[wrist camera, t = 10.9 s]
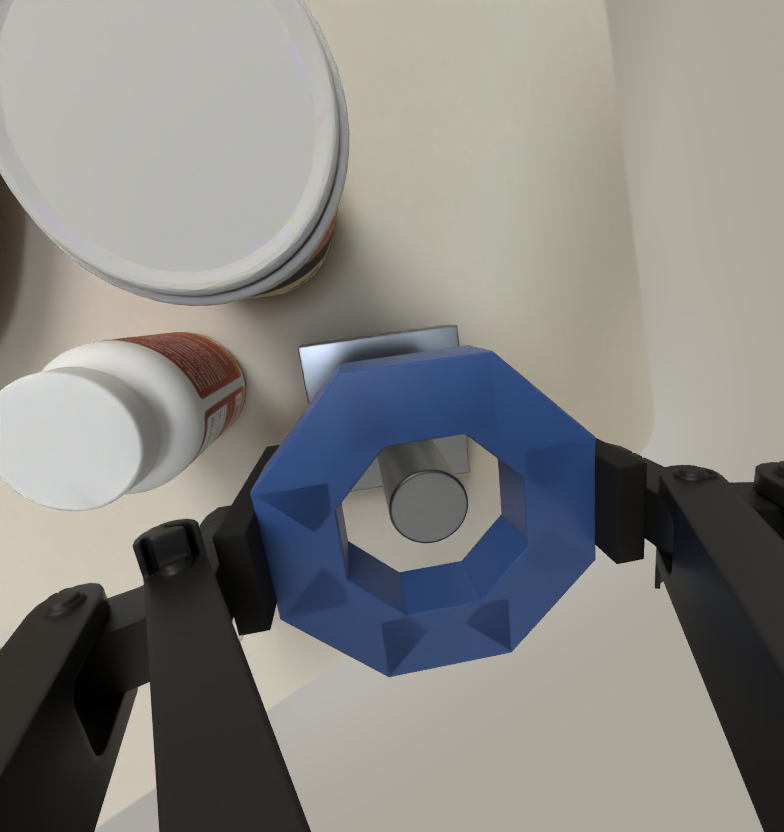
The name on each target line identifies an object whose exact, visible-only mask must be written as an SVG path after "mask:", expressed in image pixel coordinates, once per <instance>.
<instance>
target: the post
mask: <svg viewBox="0 0 784 832" xmlns="http://www.w3.org/2000/svg"><path fill="white" fill-rule="evenodd" d="M454 347H459V341H458V330H457V325H444V326H436V327H429V328H422V329H415V330H407V331H400V332H393V333H385V334H378V335H371V336H364V337H356V338H349V339H342V340H334V341H327V342H320V343H313V344H305V345H301V346H299V347H298V351H299V357H300V362H301V367H302V373H303V378H304V384H305V389H306V394H307V400H308V405H310V404H311V402H312V401H313V400H314V398H315V397H316V396H317V394H318V393H319V392H320V390H321V389H322V387H323V386H324V385H325V383H326V382H327V381H328V379H329V378H330V377H331V375H332V374H333V373H334V371H335V370H336V368H337V367H338V366H339V364H341V363H348V362H355V361H362V360H369V359H376V358H383V357H390V356H397V355H404V354H411V353H418V352H425V351H432V350H440V349H447V348H454ZM469 471H470V470H469V458H468V446H467V435H466V434H462V435H456V436H450V437H444V438H437V439H431V440H425V441H418V442H412V443H406V444H400V445H393V446H387V447H384V448H383V450H382V451H381V452H380V454H379V455H378V456H377V457H376V459H375V460H374V461H373V463H372V464H371V465H370V466H369V468H368V469H367V470H366V472H365V473H364V474H363V475H362V477H361V478H360V479H359V481H358V482H357V483H356V484H355V486H354V487H353V488H352V490H351V491H357V490H363V489H369V488H375V487H381V486H383V487H384V491H385V496H386V501H387V506H388V510H389V515H390V519H391V522H392V524H393V525H394V527H395V528H396V530H397V531H398V532H399V533H400V534H401V535H403V536H404V537H406V538H408V539H410V540H412V541H415V542H420V543H432V542H437V541H440V540H443V539H445V538H447V537H449V536H450V535H452V534H453V533H454V532H455V531H456V530H457V529H458V528H459V527H460V526H461V524H462V523H463V521H464V519H465V516H466V513H467V509H468V497H467V493H466V490H465V488H464V486H463V485H462V483H461V482H460V480H459V479H458V477H457V476H456V474H460V473H466V472H469ZM351 491H350V492H351Z"/></svg>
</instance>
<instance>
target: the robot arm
mask: <svg viewBox="0 0 784 832" xmlns="http://www.w3.org/2000/svg"><path fill="white" fill-rule="evenodd" d="M279 446H280V445H275V446H269V447H266V449H265V451H264V452H263V454H262V456H261V457H260V459H259V461H258V462H257V464H256V466H255V467H254V469H253V471H252V472H251V474H250V476H249V477H248V479H247V481H246V482H245V484H244V485H243V487H242V489H241V490H240V492H239V494H238V495H237V497H236V499H235V500H234V502H233V504H232V505H231V506H225V507H219V508H217V509H216V510H214V511H213V512H212V513H210V514H209V515H208V516H206V517H205V519H204V520H203V522H202V523H201V525H200V528H199V524H198V522H196V521H195V520H192V519H180V520H174V521H171V522H167V523H164V524H161V525H159V526H156V527H154V528H152V529H150V530H148V531H147V532H145V533H143V534H142V535H140V536H139V537H138V538H137V539H136V540H135V542H134V544H133V549H134V552H135V555H136V558H137V561H138V564H139V567H140V570H141V573H142V576H143V580H144V585H143V586H141V587H138V588H136V589H133V590H130V591H127V592H125V593H122V594H119V595H116V596H113V597H110V598H107V597H106V594H105V591H104V588H103V587H102V586H101V585H100V584H96V583H88V584H83V585H78V586H75V587H72V588H66V589H64V590H61V591H59V593H55V594H53V595H52V596H50V597H49V598H48V599H47V600H45V601H44V602H42V603H41V604H39V605H38V606H36V607H35V608H34V609H33V610H32V611H31V612H30V613H29V614H28V615H27V616H26V618H25V619H24V620H23V622H22V623H21V624H20V625H19V627H18V628H17V629H16V631H15V632H14V633H13V634H12V636H11V637H10V638H9V640H8V641H7V642H6V644H5V645H4V646H3V647H2V649H1V650H0V832H94V831H95V827H96V824H97V821H98V818H99V814H100V811H101V808H102V805H103V801H104V798H105V795H106V792H107V788H108V785H109V782H110V779H111V775H112V772H113V769H114V766H115V762H116V759H117V756H118V753H119V749H120V746H121V743H122V740H123V736H124V733H125V730H126V727H127V723H128V720H129V717H130V714H131V710H132V707H133V704H134V700H135V697H136V694H137V690H138V687H139V686H141V685H143V684H146V683H148V682H150V691H151V707H152V722H153V738H154V754H155V770H156V786H157V802H158V816H159V817H158V818H159V832H311V831H310V828H309V825H308V823H307V820H306V817H305V815H304V812H303V809H302V807H301V804H300V801H299V799H298V796H297V793H296V791H295V788H294V785H293V783H292V780H291V777H290V775H289V772H288V769H287V767H286V764H285V761H284V759H283V756H282V753H281V751H280V748H279V745H278V743H277V740H276V737H275V735H274V732H273V729H272V727H271V724H270V721H269V719H268V716H267V713H266V711H265V708H264V705H263V702H262V700H261V697H260V694H259V692H258V689H257V686H256V684H255V681H254V678H253V676H252V673H251V670H250V668H249V665H248V662H247V660H246V657H245V654H244V652H243V649H242V646H241V644H240V641H239V638H238V636H237V633H236V630H235V628H234V625H233V622H232V620H233V618H234V619H235V623H236V627H237V630H238V634H239V636H241V635H246V634H252V633H257V632H262V631H267V630H270V629H271V625H272V621H273V617H274V612H275V608H276V604H277V601H276V597H275V593H274V588H273V584H272V580H271V576H270V572H269V567H268V563H267V559H266V555H265V551H264V546H263V542H262V538H261V534H260V530H259V525H258V521H257V517H256V513H255V510H254V506H253V502H252V498H251V494H250V493H251V491H252V489H253V487H254V485H255V483H256V481H257V479H258V478H259V476H260V474H261V472H262V470H263V468H264V467H265V465H266V463H267V462H268V461H269V459H270V458H271V457H272V455H273V454H274V453H275V451H276V450H277V449H278V447H279ZM645 538H646V539H647V540H648V541H650V542H651V543H652V544H654V545H655V546H656V569H655V588H658V589H660V583H661V582H663V581H664V584H665V586H666V589H667V591H668V594H669V596H670V599H671V601H672V604H673V606H674V609H675V611H676V613H677V616H678V619H679V621H680V624H681V626H682V629H683V631H684V634H685V636H686V639H687V641H688V644H689V646H690V648H691V651H692V653H693V656H694V659H695V661H696V663H697V666H698V668H699V671H700V673H701V675H702V678H703V681H704V683H705V686H706V688H707V691H708V693H709V696H710V698H711V701H712V703H713V706H714V708H715V711H716V713H717V716H718V718H719V721H720V723H721V726H722V728H723V731H724V733H725V736H726V738H727V741H728V743H729V746H730V748H731V751H732V753H733V756H734V758H735V761H736V763H737V766H738V768H739V770H740V773H741V776H742V778H743V781H744V783H745V786H746V788H747V790H748V793H749V795H750V798H751V800H752V803H753V805H754V808H755V810H756V813H757V815H758V818H759V820H760V823H761V825H762V828H763V830H764V832H784V461H780V462H770V463H763V464H760V465H758V466H756V469H755V477H754V482H742V483H741V482H740V483H739V482H738V483H729V482H728V481H727V480H726V479H725V478H724V477H723V476H722V475H720V474H719V473H717V472H715V471H713V470H710V469H707V468H701V467H697V466H692V465H676V466H669V467H663V466H661V465H659V464H657V463H655V462H653V461H651V460H648V459H646V458H642V456H640V455H638V454H636V453H632V451H629V450H627V449H625V448H623V447H621V446H617V445H613V444H609V443H605V442H603V441H601V440H599V439H597V438H595V545H596V546H598V547H599V548H600V549H601V550H602V551H603V552H604V553H605V554H606V555H607V556H608V557H610V558H611V559H612V560H613V561H614V562H615V563H616V564H620V563H625V562H630V561H635V560H640V559H644V539H645Z"/></svg>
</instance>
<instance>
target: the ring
mask: <svg viewBox="0 0 784 832" xmlns="http://www.w3.org/2000/svg"><path fill="white" fill-rule="evenodd" d="M462 434H466V435H467V436H469V437H470V438H471V439H473V440H474V441H475V442H477V443H478V444H479V445H481V446H482V447H483V448H485V449H486V450H487V451H489V452H490V453H491V454H493V455H494V456H495V457H497V458H498V466H499V481H500V497H501V512H502V514H501V515H500V517H499V518H498V519H497V520H496V521H495V522H494V524H493V525H492V526H491V527H490V528H489V530H488V531H487V532H486V533H485V534H484V535H483V537H482V538H481V539H480V540H479V541H478V542H477V544H476V545H475V546H474V547H473V548H472V550H471V551H470V552H469V553H468V554H467V555H466V557H465V558H464V559H463V560H462V561H460V562H454V563H449V564H443V565H438V566H432V567H427V568H421V569H416V570H410V571H405V572H400V573H399V572H398V571H396V570H394V569H393V568H391V567H389V566H388V565H386V564H385V563H383V562H381V561H380V560H378V559H376V558H375V557H373V556H372V555H370V554H368V553H367V552H365V551H363V550H362V549H360V548H359V547H357V546H355V545H354V544H352V543H350V542H349V541H348V538H347V532H346V527H345V521H344V515H343V510H342V504H341V502H342V501H343V500H344V498H345V497H346V496H347V495H348V493H349V492H350V491H351V490H352V488H353V487H354V486H355V484H356V483H357V482H358V481H359V479H360V478H361V477H362V475H363V474H364V473H365V472H366V470H367V469H368V468H369V466H370V465H371V464H372V463H373V461H374V460H375V459H376V457H377V456H378V455H379V454H380V452H381V451H382V450H383V448H384V447H387V446H393V445H400V444H406V443H412V442H418V441H425V440H431V439H437V438H444V437H450V436H456V435H462ZM250 494H251V498H252V502H253V506H254V510H255V513H256V517H257V521H258V525H259V530H260V534H261V538H262V542H263V546H264V551H265V555H266V559H267V563H268V567H269V572H270V576H271V580H272V584H273V588H274V593H275V597H276V601H277V607H278V611H279V615H280V619H281V620H283V621H285V622H286V623H288V624H290V625H292V626H294V627H296V628H298V629H300V630H301V631H303V632H305V633H307V634H309V635H311V636H313V637H315V638H317V639H318V640H320V641H322V642H324V643H326V644H328V645H330V646H332V647H333V648H335V649H337V650H339V651H341V652H343V653H345V654H347V655H348V656H350V657H352V658H354V659H356V660H358V661H360V662H362V663H364V664H365V665H367V666H369V667H371V668H373V669H375V670H377V671H378V672H381V673H382V674H384V675H386V676H388V677H392V676H397V675H402V674H407V673H412V672H417V671H422V670H427V669H432V668H436V667H441V666H446V665H451V664H456V663H461V662H466V661H471V660H476V659H481V658H486V657H490V656H496V655H501V654H505V653H510V652H512V651H513V650H514V649H515V648H516V647H517V646H518V644H519V643H520V642H521V641H522V640H523V639H524V638H525V637H526V636H527V634H528V633H529V632H530V631H531V630H532V629H533V628H534V627H535V626H536V625H537V623H538V622H539V621H540V620H541V619H542V618H543V617H544V616H545V614H546V613H547V612H548V611H549V610H550V609H551V608H552V607H553V606H554V605H555V604H556V602H557V601H558V600H559V599H560V598H561V597H562V596H563V595H564V594H565V593H566V591H567V590H568V589H569V588H570V587H571V586H572V585H573V584H574V583H575V581H576V580H577V579H578V578H579V577H580V576H581V575H582V574H583V573H584V572H585V570H586V569H587V568H588V567H589V566H590V565H591V564H592V563H593V562H594V561H595V436H593V435H592V434H591V433H590V432H589V431H587V430H586V429H585V428H584V427H583V426H581V425H580V424H579V423H578V422H577V421H575V420H574V419H573V418H572V417H571V416H569V415H568V414H567V413H566V412H565V411H563V410H562V409H561V408H560V407H559V406H557V405H556V404H555V403H554V402H553V401H551V400H550V399H549V398H548V397H547V396H546V395H544V394H543V393H542V392H541V391H540V390H538V389H537V388H536V387H535V386H534V385H532V384H531V383H530V382H529V381H528V380H526V379H525V378H524V377H523V376H522V375H520V374H519V373H518V372H517V371H516V370H514V369H513V368H512V367H511V366H510V365H508V364H507V363H506V362H505V361H504V360H502V359H501V358H500V357H499V356H498V355H496V354H495V353H494V352H493V351H489V350H485V349H481V348H477V347H473V346H461V347H454V348H447V349H440V350H432V351H425V352H418V353H411V354H404V355H397V356H390V357H383V358H376V359H369V360H362V361H355V362H348V363H341V364H339V366H338V367H337V368H336V370H335V371H334V373H333V374H332V375H331V377H330V378H329V379H328V381H327V382H326V383H325V385H324V386H323V387H322V389H321V390H320V392H319V393H318V394H317V396H316V397H315V398H314V400H313V401H312V402H311V404H310V405H309V406H308V408H307V409H306V411H305V412H304V413H303V415H302V416H301V417H300V419H299V420H298V421H297V423H296V424H295V425H294V427H293V428H292V430H291V431H290V432H289V434H288V435H287V436H286V438H285V439H284V440H283V442H282V443H281V444H280V446H279V447H278V449H277V450H276V451H275V453H274V454H273V455H272V457H271V458H270V459H269V461H268V462H267V463H266V465H265V467H264V468H263V470H262V472H261V474H260V476H259V478H258V479H257V481H256V483H255V485H254V487H253V489H252V491H251V493H250Z"/></svg>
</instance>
